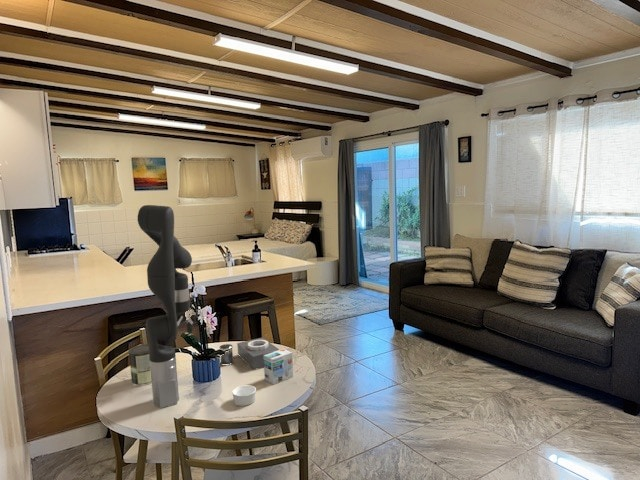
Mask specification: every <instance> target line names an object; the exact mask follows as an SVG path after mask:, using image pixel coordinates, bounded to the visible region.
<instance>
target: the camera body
mask: <svg viewBox="0 0 640 480" xmlns="http://www.w3.org/2000/svg"><path fill="white" fill-rule="evenodd" d="M236 345H237V355H238V354H239V355H240V356H241V357H242V358H243V359H244V360H245V361H246V362H247V363H248V364H249V365H250V366H251V368H252V369H253V370H254V369H255V370H257V369H256V368H259V369H261V368H260V367H262V368H264V356H263V355H266V354H269V353H272V352H275V351H278V350H280V349H279V348H278V347H277V346H275V345H274V344H272V343H271V342H270V341H268V340H267V339H265V338H264V337H258V338H254V339H249V340H246V341H240V342H237V343H236ZM240 356H239V357H240ZM241 357H240V358H241ZM242 358H241V359H242ZM243 359H242V360H243ZM244 360H243V361H244ZM245 361H244V362H245ZM246 362H245V363H246ZM247 363H246V364H247ZM248 364H247V365H248ZM249 365H248V366H249ZM250 366H249V367H250Z"/></svg>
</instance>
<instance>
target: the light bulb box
mask: <svg viewBox="0 0 640 480" xmlns="http://www.w3.org/2000/svg"><path fill="white" fill-rule="evenodd" d="M263 356H264V367H263V371H264V372H263V374H264V380H265V381H267V382H268V383H269V384H271V385H276V384H278V383H280V382H283V381H286V380H288V379H289V380H290V379H292V378H294V366H293V365H294V364H293V363H294V362H293V352H292V351H289V350H287V349H286V348H281V349H279V350H278V351H275V352H272V353H269V354H266V355H263Z"/></svg>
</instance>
